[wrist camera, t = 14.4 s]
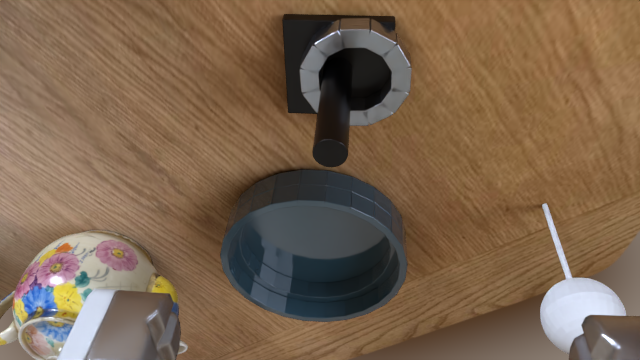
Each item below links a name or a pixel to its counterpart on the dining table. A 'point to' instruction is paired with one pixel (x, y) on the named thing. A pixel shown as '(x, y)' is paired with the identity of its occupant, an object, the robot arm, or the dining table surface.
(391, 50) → the ring
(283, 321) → the dining table surface
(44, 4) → the dining table surface
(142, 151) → the dining table surface
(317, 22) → the post
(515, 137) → the dining table surface
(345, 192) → the bowl
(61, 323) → the teapot
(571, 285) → the lollipop
